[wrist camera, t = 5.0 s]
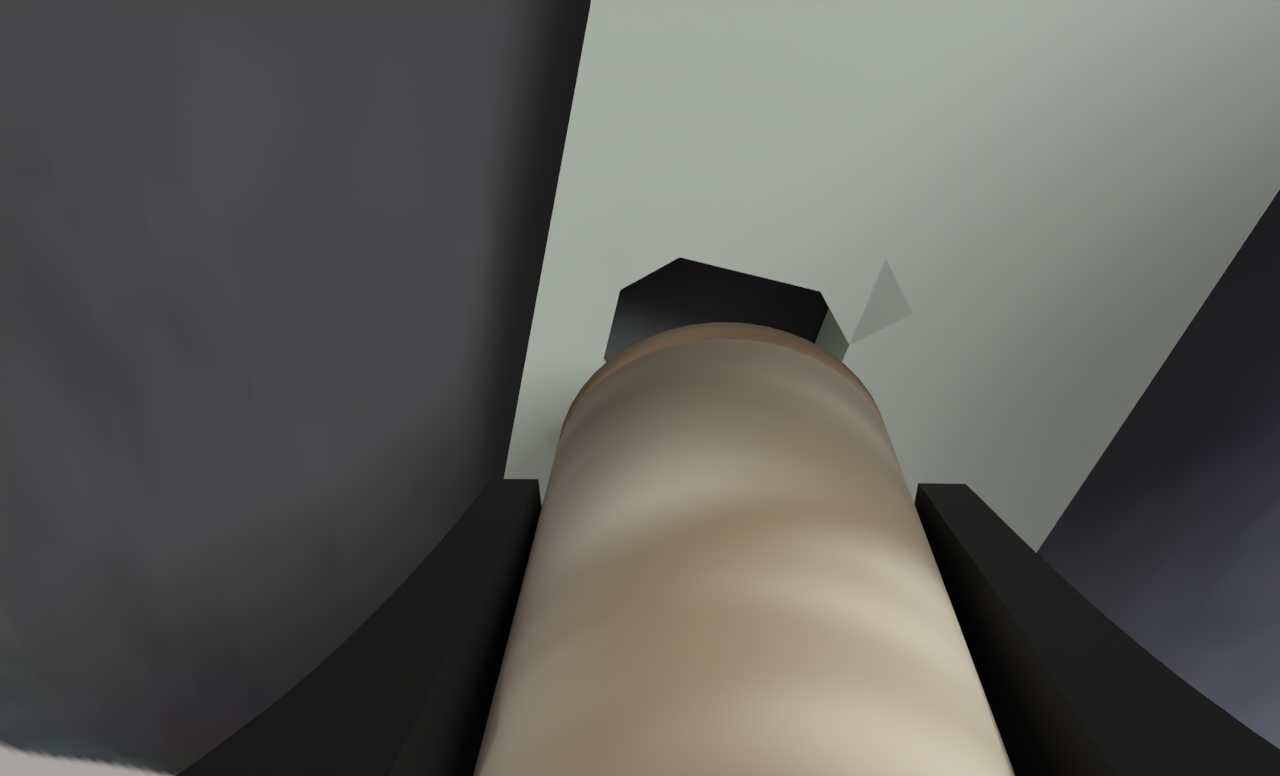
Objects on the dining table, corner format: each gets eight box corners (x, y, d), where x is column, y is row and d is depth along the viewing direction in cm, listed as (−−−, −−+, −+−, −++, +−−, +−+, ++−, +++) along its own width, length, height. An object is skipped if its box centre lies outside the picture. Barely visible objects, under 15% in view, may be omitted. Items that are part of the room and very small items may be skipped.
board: (1437, -221, 11) (1569, -243, 10) (920, 629, 21) (941, 695, 19) (688, -453, 11) (686, -521, 9) (499, 540, 20) (481, 599, 18)
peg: (877, 263, 12) (1168, 823, 5) (856, 517, 15) (1025, 1145, 7) (555, 279, 13) (353, 813, 5) (589, 522, 15) (486, 1120, 8)
